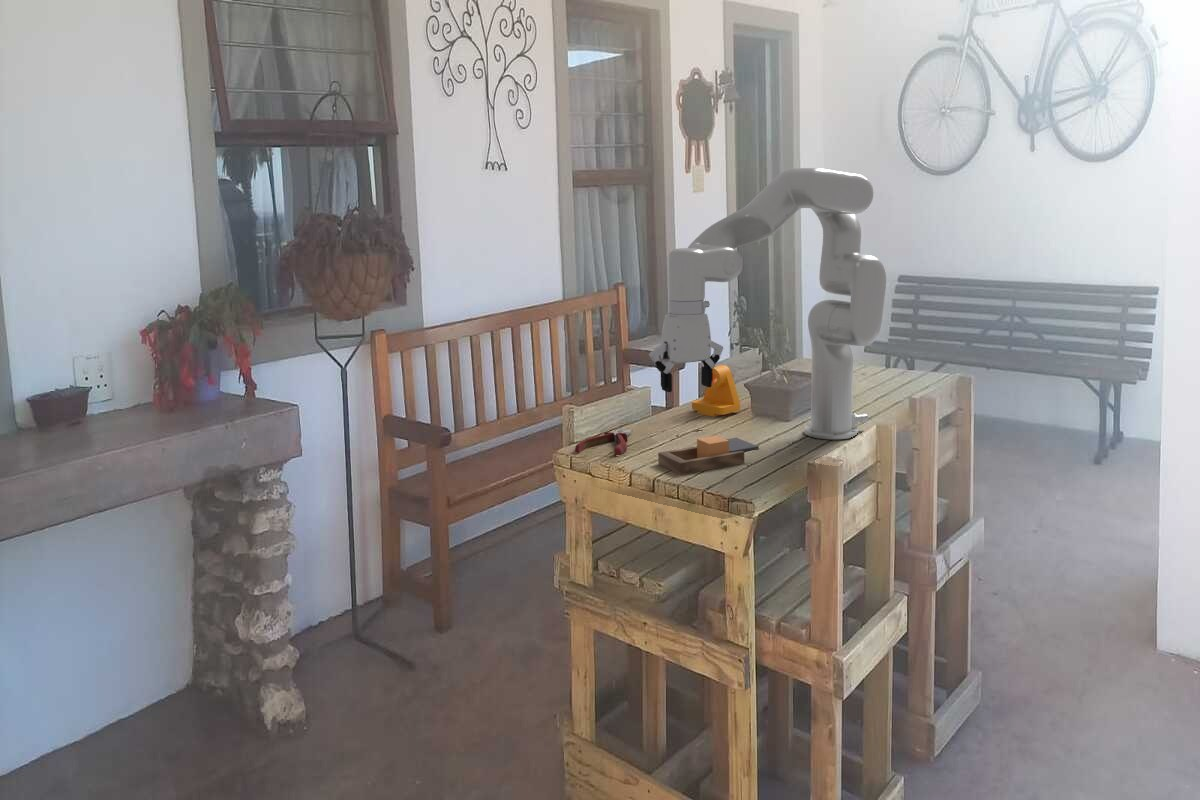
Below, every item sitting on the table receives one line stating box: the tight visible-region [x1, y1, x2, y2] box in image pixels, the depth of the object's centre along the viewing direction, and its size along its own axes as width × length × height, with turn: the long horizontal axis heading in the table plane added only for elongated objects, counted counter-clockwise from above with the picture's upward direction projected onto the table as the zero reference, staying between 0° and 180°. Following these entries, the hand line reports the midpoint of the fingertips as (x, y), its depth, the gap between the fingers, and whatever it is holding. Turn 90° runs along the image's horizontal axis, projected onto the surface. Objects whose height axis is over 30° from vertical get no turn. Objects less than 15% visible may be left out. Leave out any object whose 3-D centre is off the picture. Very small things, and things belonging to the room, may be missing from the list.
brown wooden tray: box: [657, 445, 745, 475], centre depth 225 cm, size 16×9×2 cm, turn 116°
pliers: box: [574, 428, 634, 457], centre depth 243 cm, size 12×20×3 cm, turn 158°
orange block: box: [696, 435, 729, 458], centre depth 226 cm, size 5×5×5 cm
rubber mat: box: [725, 437, 759, 453], centre depth 237 cm, size 8×9×1 cm
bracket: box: [691, 364, 741, 417], centre depth 269 cm, size 11×7×12 cm, turn 43°
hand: (686, 388), depth 220 cm, fingers open, 9 cm apart
